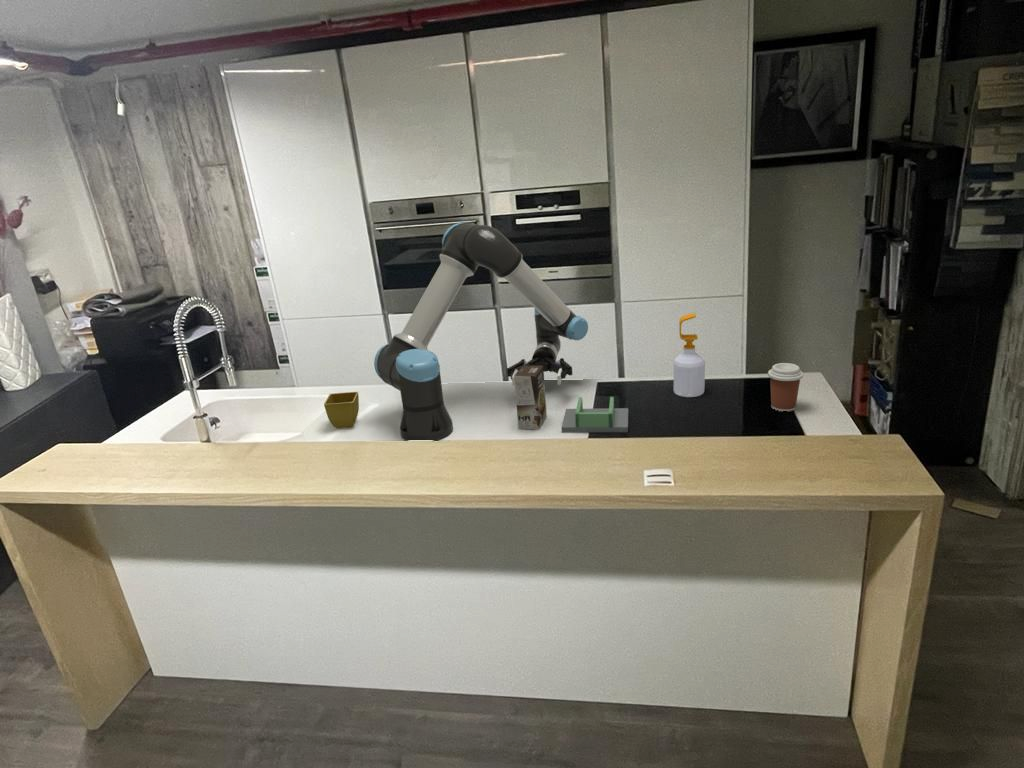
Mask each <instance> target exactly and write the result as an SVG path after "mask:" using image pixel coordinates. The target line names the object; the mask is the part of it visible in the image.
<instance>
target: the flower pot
mask: <svg viewBox="0 0 1024 768" xmlns="http://www.w3.org/2000/svg"><path fill="white" fill-rule="evenodd" d="M359 400H360V399H359V391H346V392H337V393H336V392H335V393H329V395H328V396H327V398H326V400H325V402H324V403H323V407H324V409H325V413H326V415H327V419H328V421H329V422H330V424H331V425H332V426H333V427H334V428H335V429H347V428H348V429H349V428H353V427H354V425H355V423H356V421H357V418H358V415H359V410H360V409H359V406H360V403H359V402H360V401H359Z"/></svg>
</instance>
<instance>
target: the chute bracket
mask: <svg viewBox="0 0 1024 768" xmlns="http://www.w3.org/2000/svg"><path fill="white" fill-rule="evenodd" d="M583 405H584V404H583V397H582V396H580V397H578V400H577V405H576V408H565V411H564V415H563V419H562V425H561V433H629V408H627V407H624V408H623V407H622V408H621V407H619V408H617V407H616V408H615V397H614V396H609V405H608V406H609V407H608V408H607V407H606V408H601V407H600V408H584V406H583Z"/></svg>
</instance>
